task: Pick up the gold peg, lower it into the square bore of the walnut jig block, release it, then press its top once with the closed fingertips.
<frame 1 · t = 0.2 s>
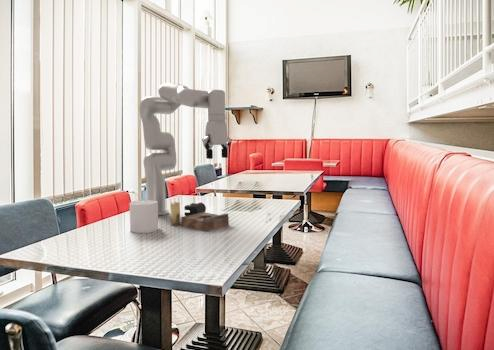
hand: (217, 158, 168), 31 cm above the table, fingers open, 9 cm apart
gold peg: (175, 224, 175), on the table
cup: (144, 230, 166), on the table
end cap: (195, 217, 191), on the table
jig: (205, 225, 173), on the table
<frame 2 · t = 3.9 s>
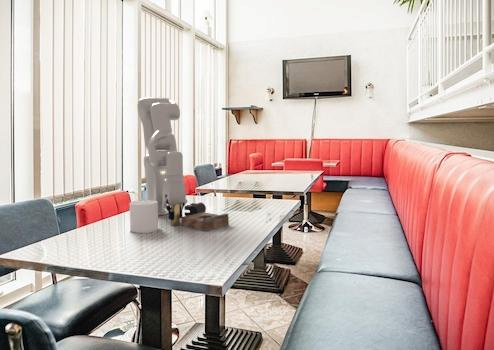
hand: (175, 218, 175), 3 cm above the table, fingers closed on gold peg, 4 cm apart
gold peg: (175, 224, 175), on the table, touching gripper
everything else where it was.
when the fingers open (5 cm above the table, at t = 8.3 s): gold peg drops 2 cm, resting in jig.
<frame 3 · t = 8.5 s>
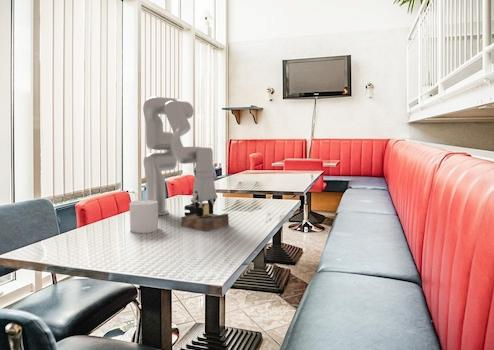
hand: (204, 214, 172), 5 cm above the table, fingers open, 6 cm apart
gold peg: (204, 225, 173), resting in jig
everything else where it was.
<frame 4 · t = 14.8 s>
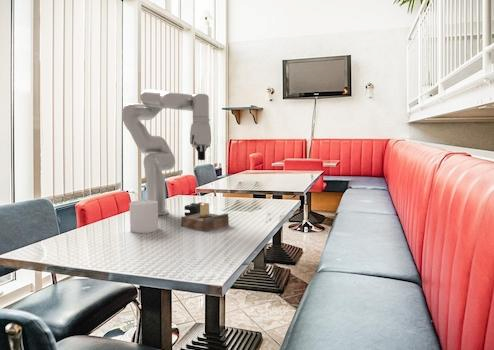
hand: (201, 159, 181), 29 cm above the table, fingers closed
nothing on the table moved.
at the end: gold peg 0.0 cm off-centre on the jig, point 0.0 cm above the jig's base; gold peg tilted 0°; the gripper is holding nothing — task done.
